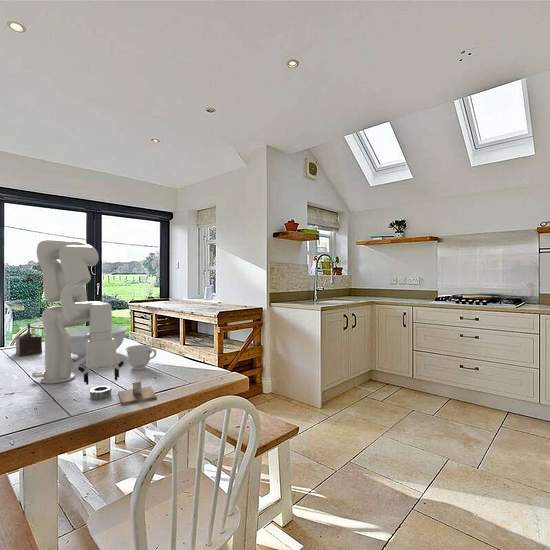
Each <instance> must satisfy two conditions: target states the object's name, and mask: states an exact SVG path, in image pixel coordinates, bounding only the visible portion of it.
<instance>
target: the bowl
mask: <svg viewBox="0 0 550 550" xmlns="http://www.w3.org/2000/svg"><path fill="white" fill-rule="evenodd" d="M65 330H66V331H67V332H68V333H69V335H70V337H71V355H75V356H78V357H77V358H78V360H80V359H82V358H83V357H85V356H86V348H87V342H88V340H90V339H89V338H85V334H89V333H90V330H89V325H87V326H76V327H73V328H71V327H70V328H66V329H65ZM127 331H128V327H126V326H124V325H123V326H122V325H115V324H114V325H113V324H112V338H114V340H115V344H116V350H117V349H119V348H120V346H121V345H122V344H123V342H124V339H125V333H126V332H127Z"/></svg>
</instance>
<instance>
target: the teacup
mask: <svg viewBox="0 0 550 550" xmlns="http://www.w3.org/2000/svg"><path fill="white" fill-rule="evenodd" d="M125 351H126V353H127V360H128V364H129V366H130V367H132V370H134V371H141V370H145V369H146V368H147V367H146V366H147V365H148V364H149V363H150V361H151V360H152V359H155V357H156V356H157V350H156V349H155V348H154V347H153V346H152V345H149V344H136V345H135V344H134V345H132V346H127V347H126V348H125ZM152 353H154V354H153V355H152V356H151V354H152Z"/></svg>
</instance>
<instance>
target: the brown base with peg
mask: <svg viewBox="0 0 550 550" xmlns="http://www.w3.org/2000/svg"><path fill="white" fill-rule="evenodd" d="M117 395H118V398H120V399H119V401H120V406H125V405H124V404H126V405H131V404H137V403H141V402H142V401H143V402H149V401H155V400H157V395H156V393H155V391H154V389H153V388H152V386H145V387H142V381H141V380H134V381H133V382H132V389H125V390H120V391H119V390H118V392H117ZM143 402H142V403H143ZM130 403H131V404H130Z"/></svg>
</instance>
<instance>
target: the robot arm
mask: <svg viewBox="0 0 550 550" xmlns="http://www.w3.org/2000/svg"><path fill="white" fill-rule="evenodd" d="M36 258H37V261H38V264H39V267H40V268H41V269H40V270H41V272H42V273H41V274H42V283H43V284H42V285H43V294H44V299H45V300H46V302H48V303H51V304H59V303H60V305H54V306H50V307H47V308H45V309H44V310H43V311H42V313H41V320H42V326H43V327H42V328H44V329H43V331H44V333H43V334H44V370H41V371H36V372H35V371H34V372H32V378H35V379H37V378H40V383H42V384H45V385H46V384H49V385H50V384H51V385H53V384H61V383H66V382H69V381H72V380H73V379H75V377H76V374H75V373H74V372H72V353H71V337H70V335H69V333H68V332H67V331H66V330H67V328H71V327H80V326H83V325H85V324H86V323H87V322H89V323H88V324H89V325H88V326H89V330H90V333H89V334H85V338H89V339H90V340H88V342H87V348H86V356H85V357H83V358H82V359H78V360H77V361H75V362H74V366H75V367H76V369H78V371H79V372H81V373H82V374H83V383H86V386H88V385H89V371H90V370H93V369H101V368H108V367H114V371H113V373H114V380H115V381H118V378H120V369H121V368H122V366H124V364H125V362H126V360H127V359H128V356H127V355H124V354H121V353H119V352H117V349H116V344H115V340H114V338H112V325H113V321H112V320H113V319H112V315H113V313H112V310H113V309H112V305H111V304H110V303H109V302H101V301H97V300H96V301H88V297H87V295H88V294H87V289H86V286H85V285H87V284H88V283H89V282H90V281H91V278H92V277H91V273H90V270H89V267H94V266H96V265H97V264H98V262H99V259H100V258H99V253H98V251H97V249H96V248H95V247H94V246H92V245H90V244H87V242H83V241H79V240H72V239H71V240H70V239H57V238H56V239H54V238H52V239H51V238H50V239H43V240H41V241H39V243H38V244H37V247H36ZM58 260H59V261H60V262H59V261H58ZM118 358H120V359H121V360H120V361H119V362H118V363H117V359H118ZM84 362H85V367H83V366H82V363H84Z"/></svg>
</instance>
